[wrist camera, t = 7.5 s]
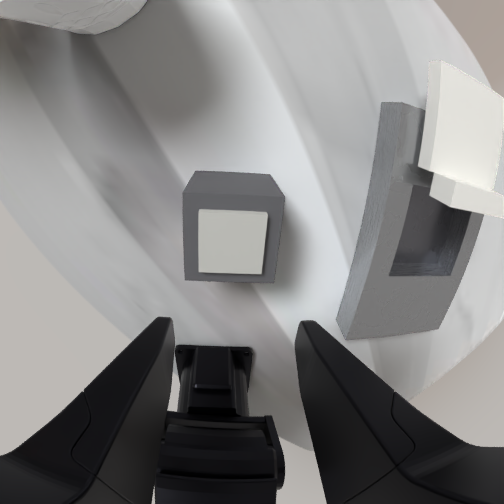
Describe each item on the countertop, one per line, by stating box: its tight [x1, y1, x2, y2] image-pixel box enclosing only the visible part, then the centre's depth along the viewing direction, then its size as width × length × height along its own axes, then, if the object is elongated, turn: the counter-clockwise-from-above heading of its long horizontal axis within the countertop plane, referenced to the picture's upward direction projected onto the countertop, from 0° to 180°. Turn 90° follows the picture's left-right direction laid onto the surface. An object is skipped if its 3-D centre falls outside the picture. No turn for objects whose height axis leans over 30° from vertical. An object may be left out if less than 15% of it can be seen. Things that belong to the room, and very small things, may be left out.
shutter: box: [418, 60, 504, 219], centre depth 12 cm, size 8×7×3 cm
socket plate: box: [336, 102, 484, 340], centre depth 18 cm, size 17×10×2 cm, turn 176°
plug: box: [183, 171, 285, 283], centre depth 15 cm, size 4×4×5 cm
